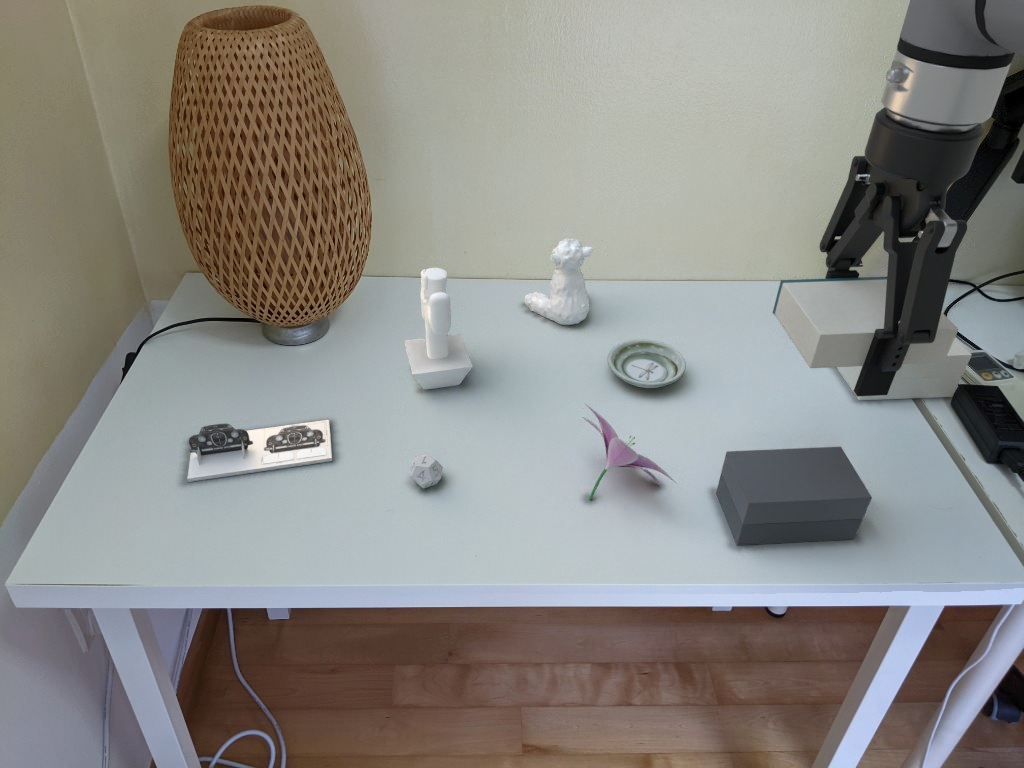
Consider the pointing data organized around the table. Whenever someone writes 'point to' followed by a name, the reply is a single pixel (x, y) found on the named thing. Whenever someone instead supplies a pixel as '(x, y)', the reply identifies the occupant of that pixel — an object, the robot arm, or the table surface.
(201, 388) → the table surface
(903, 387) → the white rectangular block
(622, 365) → the saucer
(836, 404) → the table surface
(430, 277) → the figurine
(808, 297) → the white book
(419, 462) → the game die
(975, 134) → the robot arm
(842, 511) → the grey box
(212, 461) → the car cutout
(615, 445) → the lily
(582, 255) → the sitting furry creature
